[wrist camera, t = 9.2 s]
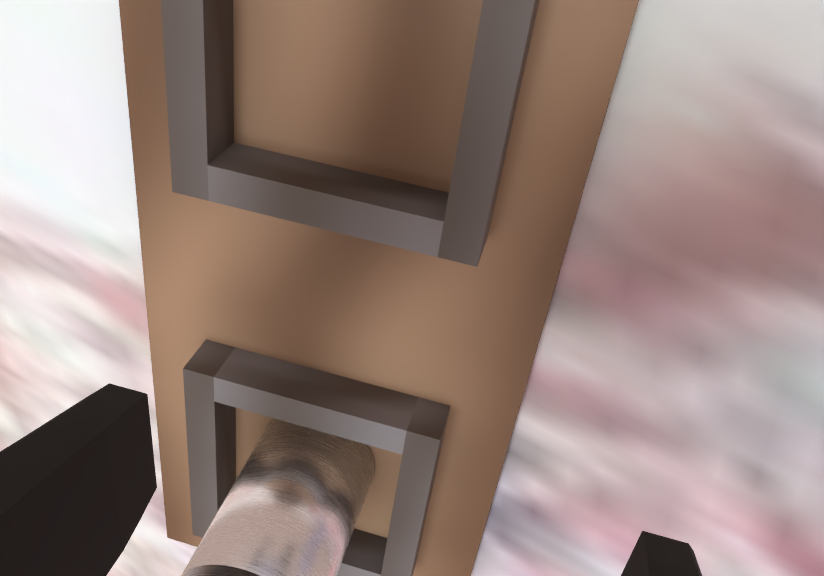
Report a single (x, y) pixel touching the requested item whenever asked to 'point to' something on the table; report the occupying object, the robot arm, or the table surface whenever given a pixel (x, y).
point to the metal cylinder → (288, 507)
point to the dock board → (358, 238)
